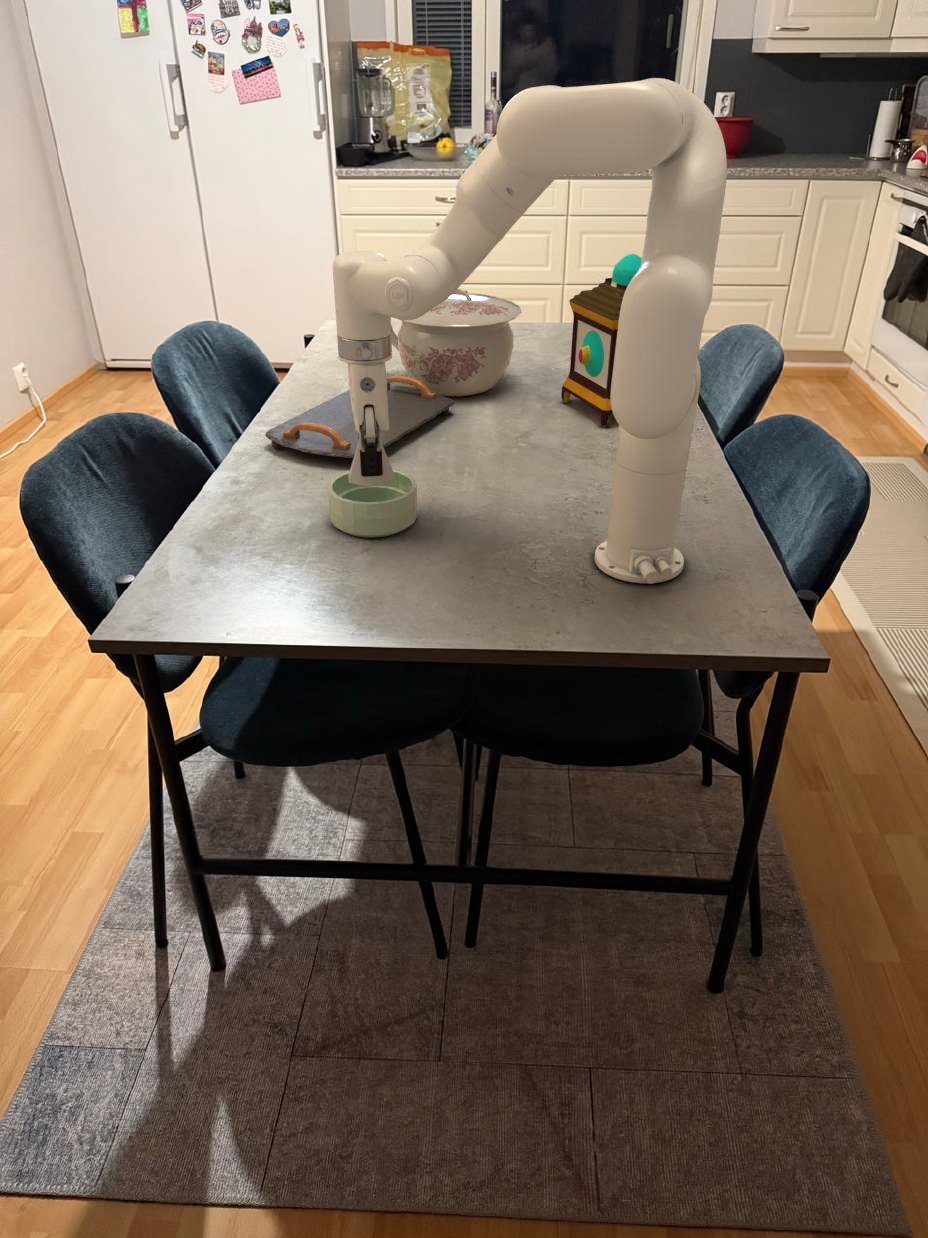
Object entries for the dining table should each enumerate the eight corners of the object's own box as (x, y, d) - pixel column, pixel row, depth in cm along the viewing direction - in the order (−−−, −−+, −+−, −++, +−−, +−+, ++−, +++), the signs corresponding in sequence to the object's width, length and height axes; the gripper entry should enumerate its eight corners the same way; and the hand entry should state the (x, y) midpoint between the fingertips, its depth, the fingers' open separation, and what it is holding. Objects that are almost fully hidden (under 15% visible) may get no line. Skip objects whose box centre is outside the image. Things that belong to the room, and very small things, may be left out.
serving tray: (369, 392, 193) (367, 363, 190) (464, 410, 184) (465, 380, 181) (253, 452, 164) (249, 420, 161) (360, 477, 155) (358, 443, 152)
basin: (420, 537, 136) (419, 501, 133) (331, 542, 135) (328, 506, 131) (413, 500, 147) (412, 465, 144) (330, 504, 146) (327, 469, 143)
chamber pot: (541, 397, 191) (546, 296, 180) (420, 415, 181) (418, 309, 170) (484, 362, 212) (486, 269, 201) (374, 376, 203) (369, 279, 192)
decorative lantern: (551, 400, 190) (560, 247, 174) (632, 388, 196) (648, 241, 180) (600, 431, 174) (615, 267, 158) (686, 418, 181) (708, 259, 165)
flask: (388, 490, 134) (385, 425, 128) (341, 486, 135) (336, 421, 130) (400, 471, 140) (398, 408, 134) (355, 467, 141) (352, 405, 136)
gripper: (395, 363, 120) (400, 490, 130) (387, 330, 134) (392, 446, 144) (339, 365, 119) (347, 492, 129) (337, 331, 133) (344, 448, 143)
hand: (371, 466), depth 136 cm, fingers closed on flask, 4 cm apart
